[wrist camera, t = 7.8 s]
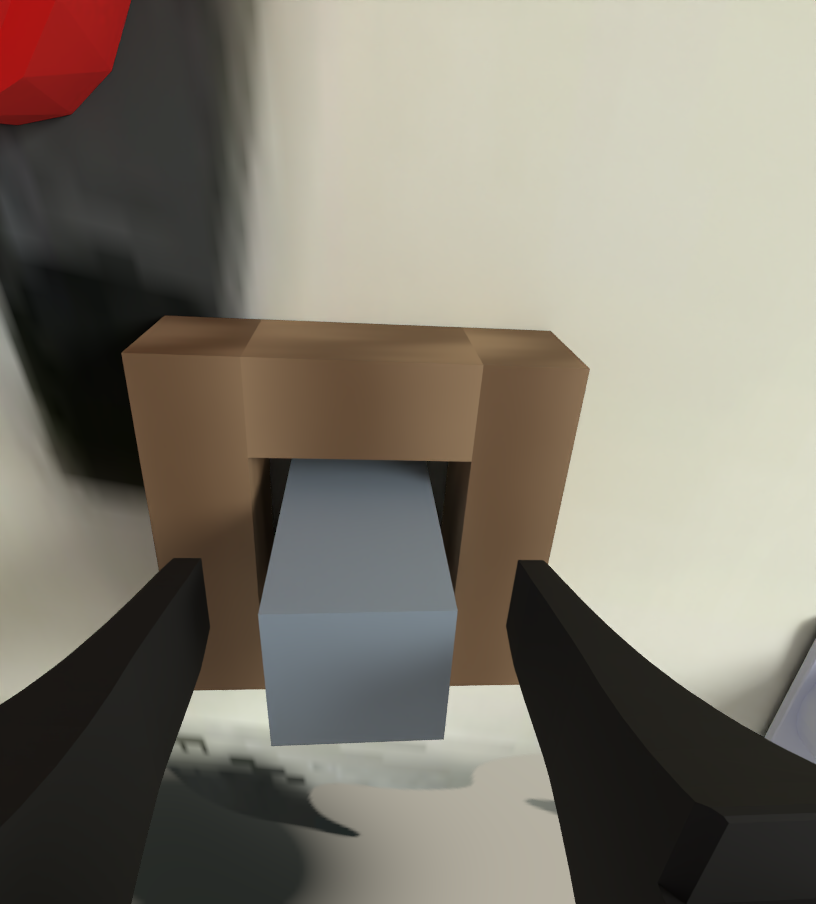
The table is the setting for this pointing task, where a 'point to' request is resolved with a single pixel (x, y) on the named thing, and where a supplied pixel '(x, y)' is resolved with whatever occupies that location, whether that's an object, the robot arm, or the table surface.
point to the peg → (357, 606)
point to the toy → (55, 54)
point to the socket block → (351, 454)
